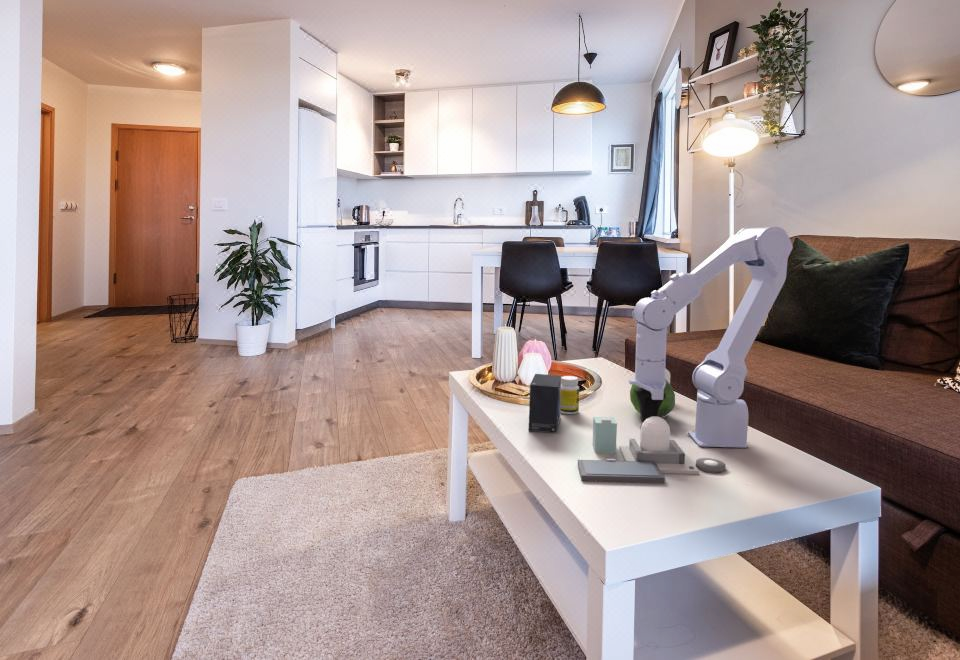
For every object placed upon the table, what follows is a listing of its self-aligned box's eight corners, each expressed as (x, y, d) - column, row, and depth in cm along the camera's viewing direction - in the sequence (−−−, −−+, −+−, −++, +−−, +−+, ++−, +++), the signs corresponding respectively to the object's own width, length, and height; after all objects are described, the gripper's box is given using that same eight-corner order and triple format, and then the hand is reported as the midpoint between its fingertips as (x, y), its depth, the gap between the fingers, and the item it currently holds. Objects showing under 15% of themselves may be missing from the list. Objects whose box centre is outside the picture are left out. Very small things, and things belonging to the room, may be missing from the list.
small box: (558, 433, 122) (559, 386, 120) (527, 431, 123) (528, 384, 121) (561, 418, 132) (562, 374, 130) (533, 416, 133) (533, 373, 132)
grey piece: (681, 450, 112) (681, 438, 112) (699, 474, 101) (699, 460, 100) (619, 448, 113) (619, 436, 112) (630, 472, 102) (630, 459, 101)
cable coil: (719, 462, 106) (720, 457, 106) (729, 473, 101) (729, 468, 101) (692, 461, 106) (692, 457, 106) (700, 472, 101) (700, 467, 101)
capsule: (667, 453, 110) (669, 413, 109) (669, 464, 105) (672, 422, 104) (639, 451, 112) (640, 411, 110) (639, 461, 107) (641, 420, 105)
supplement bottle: (580, 414, 134) (581, 380, 133) (560, 414, 135) (560, 380, 133) (576, 408, 139) (577, 375, 138) (557, 408, 139) (558, 375, 138)
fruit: (625, 404, 143) (626, 365, 141) (666, 406, 141) (668, 366, 140) (632, 424, 128) (634, 380, 126) (678, 426, 126) (681, 382, 125)
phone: (655, 466, 104) (655, 459, 104) (664, 483, 97) (665, 475, 97) (577, 464, 105) (577, 457, 105) (581, 480, 98) (581, 473, 98)
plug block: (612, 445, 115) (613, 414, 114) (615, 453, 111) (617, 420, 110) (592, 445, 115) (593, 413, 114) (595, 452, 111) (596, 420, 110)
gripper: (623, 351, 120) (621, 413, 122) (637, 366, 106) (635, 436, 108) (657, 351, 120) (655, 413, 122) (676, 367, 105) (672, 437, 108)
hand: (648, 424), depth 115 cm, fingers closed
